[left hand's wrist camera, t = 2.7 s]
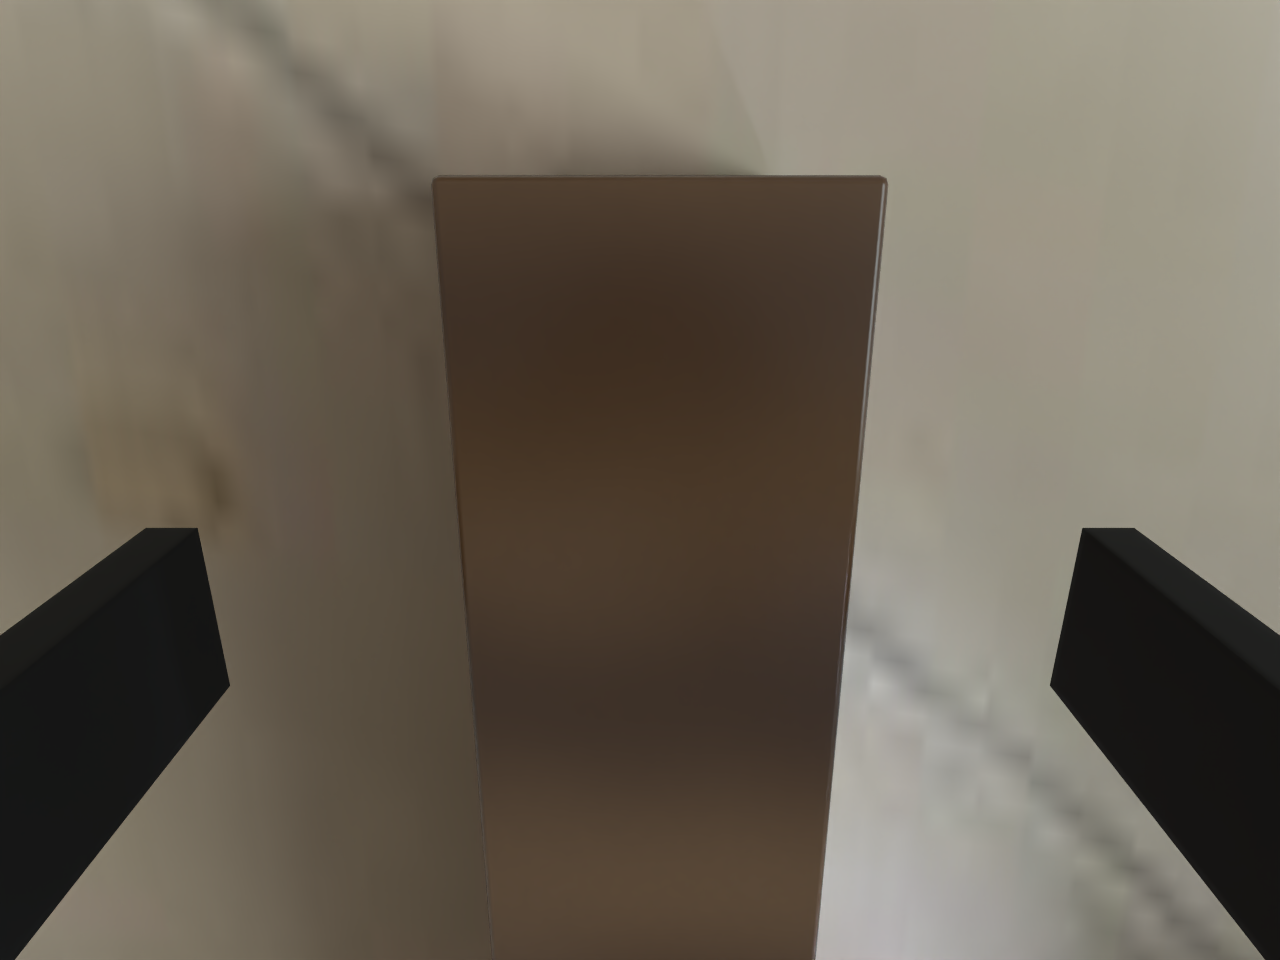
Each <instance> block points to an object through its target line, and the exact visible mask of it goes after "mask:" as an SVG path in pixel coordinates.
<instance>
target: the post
mask: <svg viewBox="0 0 1280 960" xmlns="http://www.w3.org/2000/svg"><path fill="white" fill-rule="evenodd" d="M431 188H432V201H433V214H434V226H435V239H436V252H437V264H438V277H439V290H440V302H441V315H442V328H443V340H444V353H445V366H446V379H447V391H448V404H449V417H450V429H451V442H452V455H453V467H454V480H455V493H456V505H457V518H458V531H459V543H460V556H461V569H462V582H463V594H464V607H465V620H466V632H467V645H468V658H469V670H470V683H471V696H472V708H473V721H474V734H475V746H476V759H477V772H478V785H479V797H480V810H481V823H482V835H483V848H484V861H485V873H486V886H487V899H488V911H489V924H490V937H491V949H492V960H815V958H816V948H817V937H818V926H819V916H820V905H821V894H822V884H823V873H824V863H825V852H826V841H827V831H828V820H829V809H830V799H831V788H832V777H833V767H834V756H835V746H836V735H837V724H838V714H839V703H840V692H841V682H842V671H843V661H844V650H845V639H846V629H847V618H848V607H849V597H850V586H851V575H852V565H853V554H854V544H855V533H856V522H857V512H858V501H859V490H860V480H861V469H862V459H863V448H864V437H865V427H866V416H867V405H868V395H869V384H870V373H871V363H872V352H873V342H874V331H875V320H876V310H877V299H878V288H879V278H880V267H881V257H882V246H883V235H884V225H885V214H886V203H887V193H888V182H887V179H886V178H885V177H882V176H880V175H439V176H437V177H435V178H433V181H432V184H431Z"/></svg>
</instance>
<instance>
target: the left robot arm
mask: <svg viewBox="0 0 1280 960" xmlns="http://www.w3.org/2000/svg"><path fill="white" fill-rule="evenodd" d="M229 686H230V683H229V678H228V673H227V668H226V664H225V659H224V654H223V649H222V644H221V639H220V635H219V630H218V625H217V620H216V615H215V610H214V605H213V601H212V596H211V591H210V586H209V581H208V576H207V572H206V567H205V562H204V557H203V552H202V547H201V543H200V538H199V533H198V528H145V529H144V530H143V531H141V532H140V533H138V534H137V535H136V536H134V537H133V538H132V539H130V540H129V541H128V542H126V543H125V544H124V545H122V546H121V547H119V548H118V549H117V550H115V551H114V552H113V553H111V554H110V555H109V556H107V557H106V558H105V559H103V560H102V561H101V562H99V563H98V564H96V565H95V566H94V567H92V568H91V569H90V570H88V571H87V572H86V573H84V574H83V575H82V576H80V577H79V578H77V579H76V580H75V581H73V582H72V583H71V584H69V585H68V586H67V587H65V588H64V589H63V590H61V591H60V592H58V593H57V594H56V595H54V596H53V597H52V598H50V599H49V600H48V601H46V602H45V603H44V604H42V605H41V606H40V607H38V608H37V609H35V610H34V611H33V612H31V613H30V614H29V615H27V616H26V617H25V618H23V619H22V620H21V621H19V622H18V623H16V624H15V625H14V626H12V627H11V628H10V629H8V630H7V631H6V632H4V633H3V634H2V635H0V960H15V959H16V957H17V956H18V955H19V954H20V952H21V951H22V950H23V949H24V947H25V946H26V945H27V943H28V942H29V941H30V940H31V938H32V937H33V936H34V935H35V933H36V932H37V931H38V929H39V928H40V927H41V926H42V924H43V923H44V922H45V920H46V919H47V918H48V917H49V915H50V914H51V913H52V912H53V910H54V909H55V908H56V906H57V905H58V904H59V903H60V901H61V900H62V899H63V898H64V896H65V895H66V894H67V892H68V891H69V890H70V889H71V887H72V886H73V885H74V884H75V882H76V881H77V880H78V878H79V877H80V876H81V875H82V873H83V872H84V871H85V870H86V868H87V867H88V866H89V864H90V863H91V862H92V861H93V859H94V858H95V857H96V856H97V854H98V853H99V852H100V850H101V849H102V848H103V847H104V845H105V844H106V843H107V842H108V840H109V839H110V838H111V836H112V835H113V834H114V833H115V831H116V830H117V829H118V828H119V826H120V825H121V824H122V822H123V821H124V820H125V819H126V817H127V816H128V815H129V814H130V812H131V811H132V810H133V808H134V807H135V806H136V805H137V803H138V802H139V801H140V800H141V798H142V797H143V796H144V794H145V793H146V792H147V791H148V789H149V788H150V787H151V786H152V784H153V783H154V782H155V780H156V779H157V778H158V777H159V775H160V774H161V773H162V771H163V770H164V769H165V768H166V766H167V765H168V764H169V763H170V761H171V760H172V759H173V757H174V756H175V755H176V754H177V752H178V751H179V750H180V749H181V747H182V746H183V745H184V743H185V742H186V741H187V740H188V738H189V737H190V736H191V735H192V733H193V732H194V731H195V729H196V728H197V727H198V726H199V724H200V723H201V722H202V721H203V719H204V718H205V717H206V715H207V714H208V713H209V712H210V710H211V709H212V708H213V707H214V705H215V704H216V703H217V701H218V700H219V699H220V698H221V696H222V695H223V694H224V693H225V691H226V690H227V689H228V687H229ZM1050 686H1051V687H1052V689H1053V690H1054V691H1055V693H1056V694H1057V695H1058V696H1059V698H1060V699H1061V700H1062V701H1063V703H1064V704H1065V705H1066V707H1067V708H1068V709H1069V710H1070V712H1071V713H1072V714H1073V715H1074V717H1075V718H1076V719H1077V721H1078V722H1079V723H1080V724H1081V726H1082V727H1083V728H1084V729H1085V731H1086V732H1087V733H1088V735H1089V736H1090V737H1091V738H1092V740H1093V741H1094V742H1095V743H1096V745H1097V746H1098V747H1099V749H1100V750H1101V751H1102V752H1103V754H1104V755H1105V756H1106V757H1107V759H1108V760H1109V761H1110V763H1111V764H1112V765H1113V766H1114V768H1115V769H1116V770H1117V771H1118V773H1119V774H1120V775H1121V777H1122V778H1123V779H1124V780H1125V782H1126V783H1127V784H1128V786H1129V787H1130V788H1131V789H1132V791H1133V792H1134V793H1135V794H1136V796H1137V797H1138V798H1139V800H1140V801H1141V802H1142V803H1143V805H1144V806H1145V807H1146V808H1147V810H1148V811H1149V812H1150V814H1151V815H1152V816H1153V817H1154V819H1155V820H1156V821H1157V822H1158V824H1159V825H1160V826H1161V828H1162V829H1163V830H1164V831H1165V833H1166V834H1167V835H1168V836H1169V838H1170V839H1171V840H1172V842H1173V843H1174V844H1175V845H1176V847H1177V848H1178V849H1179V850H1180V852H1181V853H1182V854H1183V856H1184V857H1185V858H1186V859H1187V861H1188V862H1189V863H1190V864H1191V866H1192V867H1193V868H1194V870H1195V871H1196V872H1197V873H1198V875H1199V876H1200V877H1201V878H1202V880H1203V881H1204V882H1205V884H1206V885H1207V886H1208V887H1209V889H1210V890H1211V891H1212V892H1213V894H1214V895H1215V896H1216V898H1217V899H1218V900H1219V901H1220V903H1221V904H1222V905H1223V906H1224V908H1225V909H1226V910H1227V912H1228V913H1229V914H1230V915H1231V917H1232V918H1233V919H1234V920H1235V922H1236V923H1237V924H1238V926H1239V927H1240V928H1241V929H1242V931H1243V932H1244V933H1245V935H1246V936H1247V937H1248V938H1249V940H1250V941H1251V942H1252V943H1253V945H1254V946H1255V947H1256V949H1257V950H1258V951H1259V952H1260V954H1261V955H1262V956H1263V957H1264V959H1265V960H1280V635H1278V634H1277V633H1276V632H1274V631H1273V630H1272V629H1270V628H1269V627H1268V626H1266V625H1265V624H1264V623H1262V622H1261V621H1259V620H1258V619H1257V618H1255V617H1254V616H1253V615H1251V614H1250V613H1249V612H1247V611H1246V610H1245V609H1243V608H1242V607H1240V606H1239V605H1238V604H1236V603H1235V602H1234V601H1232V600H1231V599H1230V598H1228V597H1227V596H1226V595H1224V594H1223V593H1222V592H1220V591H1219V590H1217V589H1216V588H1215V587H1213V586H1212V585H1211V584H1209V583H1208V582H1207V581H1205V580H1204V579H1203V578H1201V577H1200V576H1198V575H1197V574H1196V573H1194V572H1193V571H1192V570H1190V569H1189V568H1188V567H1186V566H1185V565H1184V564H1182V563H1181V562H1179V561H1178V560H1177V559H1175V558H1174V557H1173V556H1171V555H1170V554H1169V553H1167V552H1166V551H1165V550H1163V549H1162V548H1161V547H1159V546H1158V545H1156V544H1155V543H1154V542H1152V541H1151V540H1150V539H1148V538H1147V537H1146V536H1144V535H1143V534H1142V533H1140V532H1139V531H1137V530H1136V529H1135V528H1082V533H1081V538H1080V543H1079V547H1078V552H1077V557H1076V562H1075V567H1074V572H1073V576H1072V581H1071V586H1070V591H1069V596H1068V601H1067V605H1066V610H1065V615H1064V620H1063V625H1062V630H1061V635H1060V639H1059V644H1058V649H1057V654H1056V659H1055V664H1054V668H1053V673H1052V678H1051V683H1050Z"/></svg>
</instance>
